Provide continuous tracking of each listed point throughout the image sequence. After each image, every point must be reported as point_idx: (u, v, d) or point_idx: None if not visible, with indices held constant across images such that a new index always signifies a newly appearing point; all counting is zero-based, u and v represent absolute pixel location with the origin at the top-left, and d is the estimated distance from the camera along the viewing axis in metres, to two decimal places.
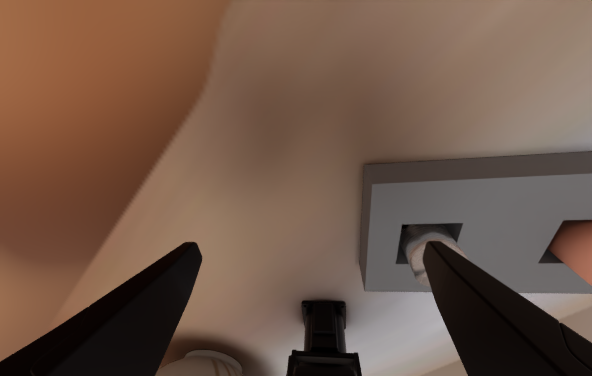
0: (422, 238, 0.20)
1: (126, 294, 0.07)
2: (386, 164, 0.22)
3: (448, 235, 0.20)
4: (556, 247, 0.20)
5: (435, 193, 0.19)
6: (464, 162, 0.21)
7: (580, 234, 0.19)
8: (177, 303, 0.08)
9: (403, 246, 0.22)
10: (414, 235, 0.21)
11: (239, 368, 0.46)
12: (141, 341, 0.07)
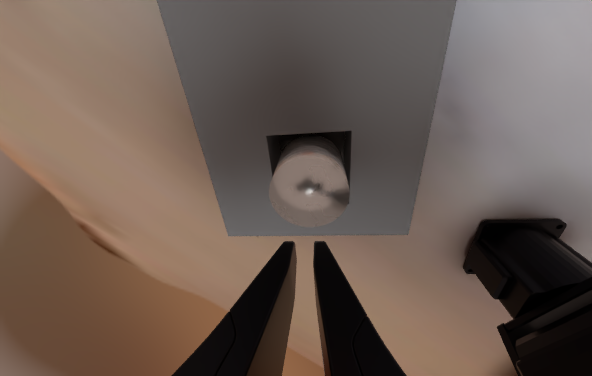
0: None
1: (262, 297, 0.06)
2: None
3: None
4: None
5: (227, 179, 0.16)
6: None
7: None
8: (290, 306, 0.07)
9: None
10: None
11: None
12: (276, 348, 0.06)
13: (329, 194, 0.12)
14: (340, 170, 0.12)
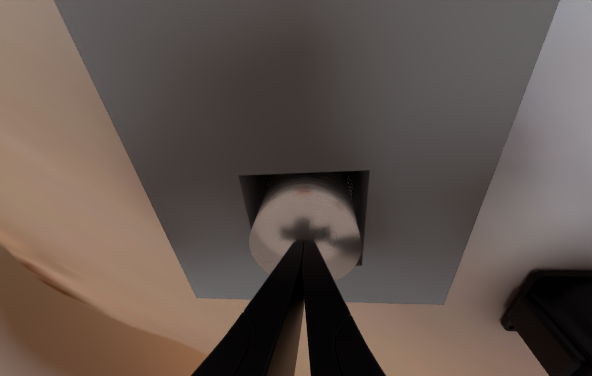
0: None
1: (276, 298, 0.06)
2: None
3: (265, 195, 0.10)
4: None
5: (187, 231, 0.11)
6: None
7: None
8: (301, 307, 0.07)
9: None
10: None
11: None
12: (290, 349, 0.06)
13: (333, 247, 0.09)
14: (349, 217, 0.08)
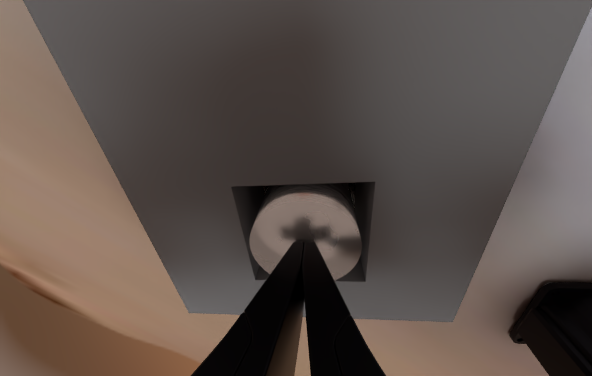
0: None
1: (276, 298, 0.06)
2: None
3: (265, 195, 0.10)
4: None
5: (177, 244, 0.10)
6: None
7: None
8: (301, 307, 0.07)
9: None
10: None
11: None
12: (290, 349, 0.06)
13: (333, 247, 0.09)
14: (349, 217, 0.08)
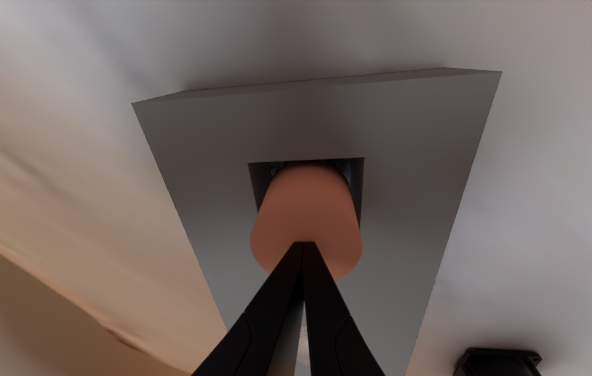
0: None
1: (276, 298, 0.06)
2: None
3: None
4: None
5: None
6: None
7: None
8: (301, 307, 0.07)
9: None
10: None
11: None
12: (290, 349, 0.06)
13: None
14: None
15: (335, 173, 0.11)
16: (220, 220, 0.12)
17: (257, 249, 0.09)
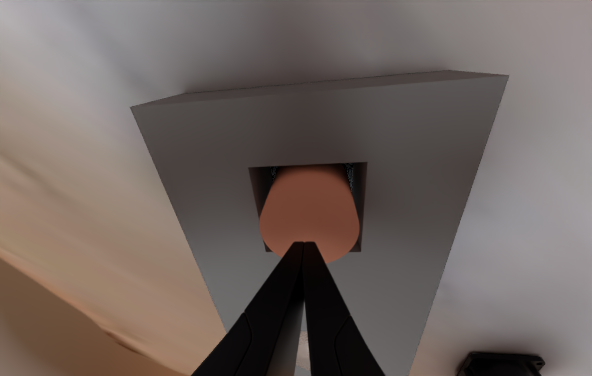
0: None
1: (276, 298, 0.06)
2: None
3: None
4: None
5: None
6: None
7: None
8: (301, 307, 0.07)
9: None
10: None
11: None
12: (290, 349, 0.06)
13: None
14: None
15: (336, 165, 0.12)
16: (220, 225, 0.12)
17: (266, 231, 0.10)
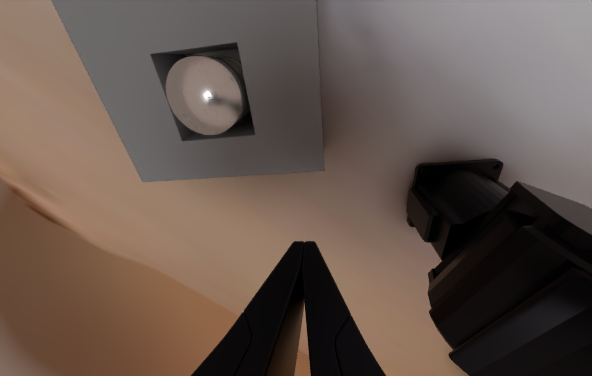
0: None
1: (276, 298, 0.06)
2: None
3: None
4: None
5: (124, 111, 0.15)
6: None
7: None
8: (301, 307, 0.07)
9: None
10: None
11: None
12: (290, 349, 0.06)
13: (220, 95, 0.13)
14: (225, 69, 0.13)
15: None
16: None
17: None
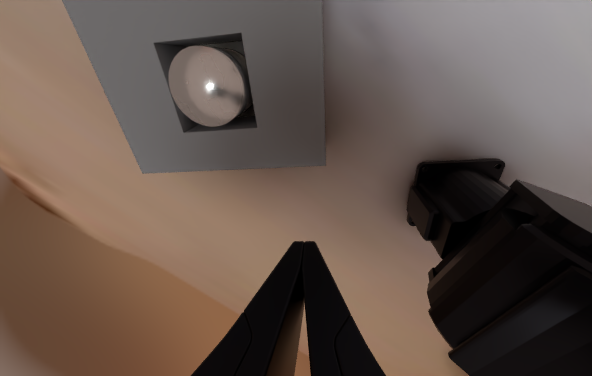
0: None
1: (276, 298, 0.06)
2: None
3: None
4: None
5: (125, 100, 0.15)
6: None
7: None
8: (301, 307, 0.07)
9: None
10: None
11: None
12: (290, 349, 0.06)
13: (223, 86, 0.13)
14: (228, 60, 0.13)
15: None
16: None
17: None
